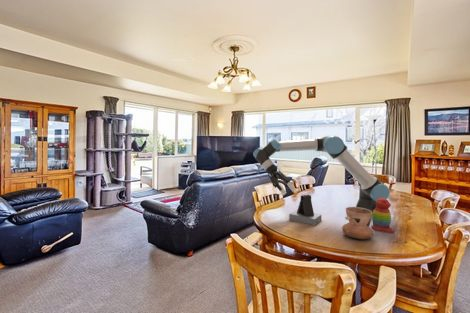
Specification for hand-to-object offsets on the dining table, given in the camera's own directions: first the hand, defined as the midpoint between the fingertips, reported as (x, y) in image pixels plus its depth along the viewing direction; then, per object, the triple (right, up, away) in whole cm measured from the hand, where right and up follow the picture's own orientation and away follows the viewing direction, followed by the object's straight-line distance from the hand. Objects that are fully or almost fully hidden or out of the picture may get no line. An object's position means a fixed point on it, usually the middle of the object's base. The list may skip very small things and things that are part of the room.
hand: (289, 192), depth 164 cm
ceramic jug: (+29, -19, -31) cm, 46 cm away
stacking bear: (+47, -18, -20) cm, 55 cm away
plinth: (+8, -16, -5) cm, 19 cm away
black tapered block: (+8, -13, -6) cm, 16 cm away
